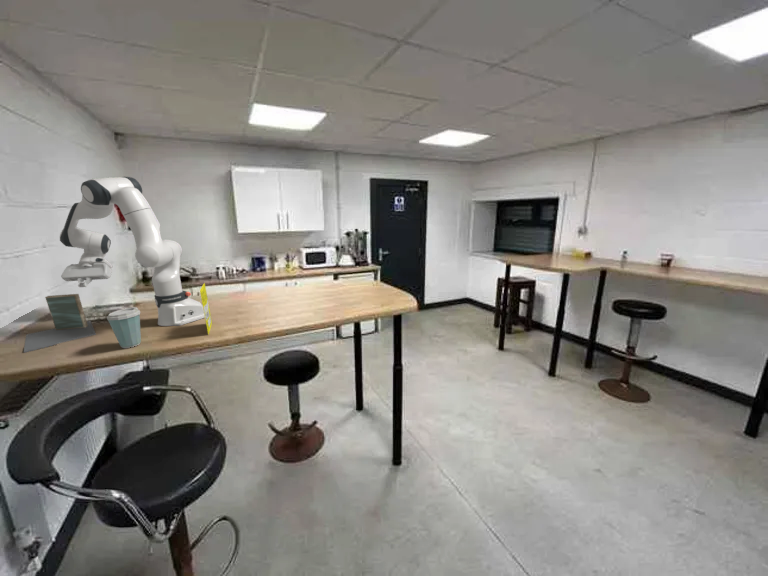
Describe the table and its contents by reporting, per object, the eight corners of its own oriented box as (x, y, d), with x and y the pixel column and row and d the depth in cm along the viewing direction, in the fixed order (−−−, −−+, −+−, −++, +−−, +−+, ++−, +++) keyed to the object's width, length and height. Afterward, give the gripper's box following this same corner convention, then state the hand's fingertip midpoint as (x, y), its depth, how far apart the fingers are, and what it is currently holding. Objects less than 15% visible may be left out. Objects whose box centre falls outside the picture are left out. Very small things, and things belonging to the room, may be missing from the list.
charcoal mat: (90, 321, 161) (90, 320, 161) (96, 335, 144) (96, 334, 143) (26, 335, 146) (26, 334, 146) (24, 352, 129) (23, 351, 128)
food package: (210, 323, 154) (203, 282, 148) (213, 323, 154) (206, 282, 149) (207, 335, 140) (198, 290, 135) (209, 334, 140) (201, 290, 135)
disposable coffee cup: (110, 352, 126) (99, 316, 122) (121, 341, 136) (112, 308, 132) (142, 348, 129) (133, 312, 125) (151, 337, 139) (143, 304, 135)
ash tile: (59, 328, 152) (48, 295, 148) (87, 325, 154) (78, 293, 150) (55, 330, 150) (44, 297, 146) (84, 327, 152) (74, 295, 148)
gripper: (63, 261, 163) (53, 284, 156) (108, 258, 166) (100, 281, 159) (72, 268, 168) (63, 291, 161) (116, 265, 171) (109, 288, 165)
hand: (82, 286), depth 160 cm, fingers closed
